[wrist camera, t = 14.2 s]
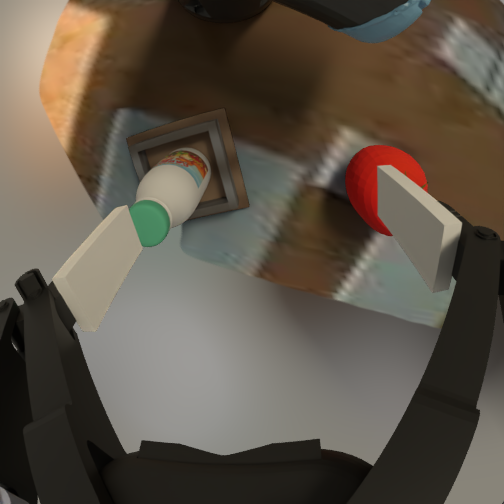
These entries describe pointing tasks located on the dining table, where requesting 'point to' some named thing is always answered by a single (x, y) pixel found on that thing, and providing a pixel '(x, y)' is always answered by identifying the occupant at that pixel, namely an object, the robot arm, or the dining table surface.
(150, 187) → the milk bottle
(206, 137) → the bottle stand
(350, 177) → the tomato
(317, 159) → the dining table surface
